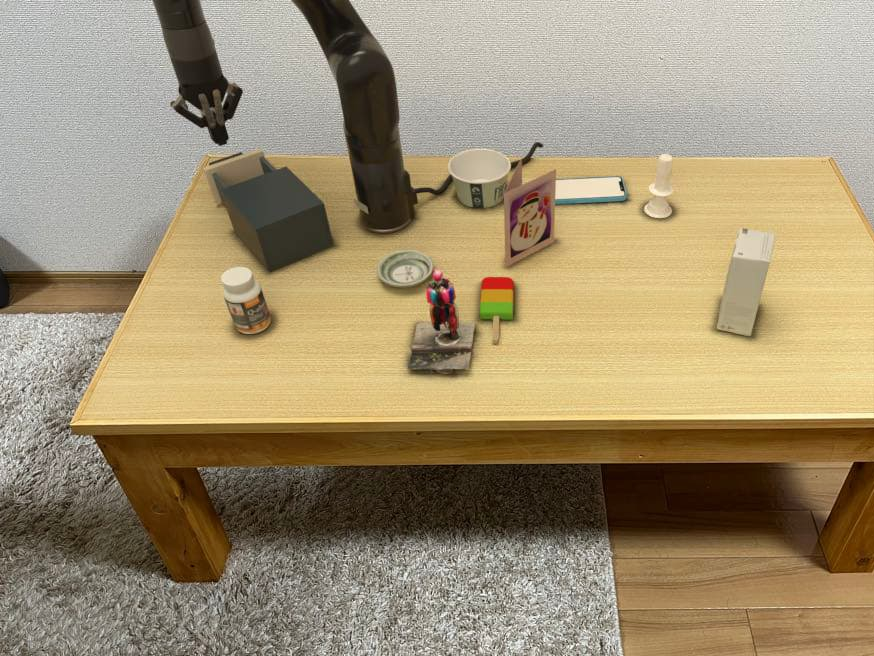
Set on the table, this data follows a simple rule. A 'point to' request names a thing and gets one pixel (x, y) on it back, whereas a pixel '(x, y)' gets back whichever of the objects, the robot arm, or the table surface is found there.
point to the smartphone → (590, 190)
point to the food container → (479, 176)
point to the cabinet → (278, 218)
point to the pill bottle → (245, 300)
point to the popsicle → (496, 301)
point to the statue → (442, 332)
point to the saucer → (405, 268)
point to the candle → (661, 189)
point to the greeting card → (528, 214)
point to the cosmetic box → (745, 281)
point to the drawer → (235, 171)
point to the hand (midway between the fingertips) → (221, 143)
